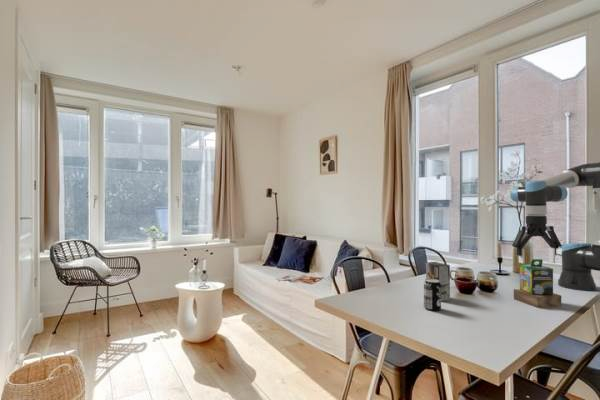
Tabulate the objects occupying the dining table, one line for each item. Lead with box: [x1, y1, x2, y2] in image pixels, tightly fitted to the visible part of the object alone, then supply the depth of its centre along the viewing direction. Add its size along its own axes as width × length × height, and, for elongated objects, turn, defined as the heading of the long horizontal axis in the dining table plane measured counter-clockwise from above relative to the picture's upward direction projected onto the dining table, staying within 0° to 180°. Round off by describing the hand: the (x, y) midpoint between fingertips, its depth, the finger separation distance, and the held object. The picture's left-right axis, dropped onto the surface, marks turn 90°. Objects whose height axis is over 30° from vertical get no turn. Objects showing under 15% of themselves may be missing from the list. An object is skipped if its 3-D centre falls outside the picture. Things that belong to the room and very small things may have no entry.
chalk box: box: [519, 258, 554, 295], centre depth 141 cm, size 9×9×15 cm
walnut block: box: [513, 288, 562, 309], centre depth 140 cm, size 12×12×5 cm
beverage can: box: [423, 278, 442, 312], centre depth 132 cm, size 7×7×12 cm
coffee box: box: [425, 261, 451, 302], centre depth 147 cm, size 9×6×16 cm
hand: (536, 262), depth 140 cm, fingers open, 13 cm apart
